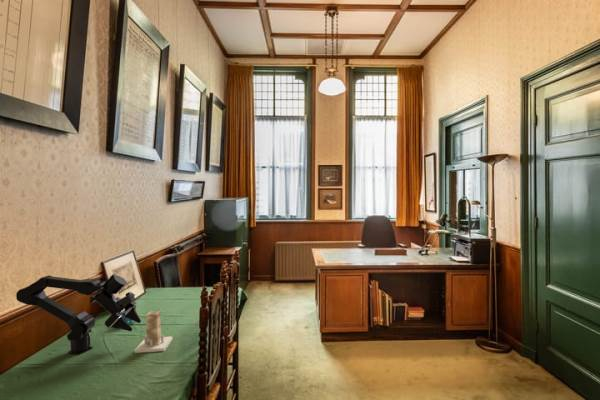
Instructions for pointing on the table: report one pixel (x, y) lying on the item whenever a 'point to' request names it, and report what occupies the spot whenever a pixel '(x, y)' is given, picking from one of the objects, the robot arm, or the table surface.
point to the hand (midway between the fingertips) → (136, 326)
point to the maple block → (153, 327)
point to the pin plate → (153, 348)
